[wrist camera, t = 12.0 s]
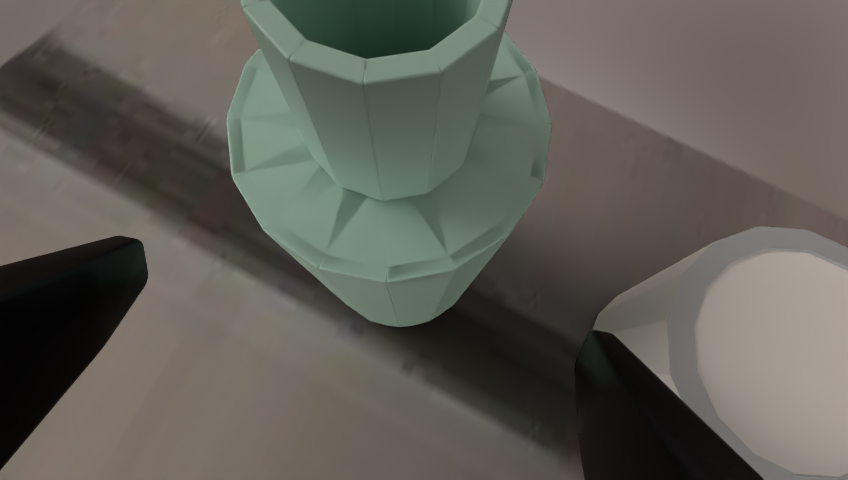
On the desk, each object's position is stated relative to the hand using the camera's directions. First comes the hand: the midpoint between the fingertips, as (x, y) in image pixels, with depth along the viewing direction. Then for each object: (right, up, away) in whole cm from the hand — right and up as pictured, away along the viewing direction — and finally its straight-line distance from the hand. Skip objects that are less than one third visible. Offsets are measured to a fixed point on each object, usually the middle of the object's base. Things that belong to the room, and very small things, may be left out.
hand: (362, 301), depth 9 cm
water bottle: (0, +1, +10) cm, 10 cm away
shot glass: (+10, -3, +9) cm, 14 cm away
